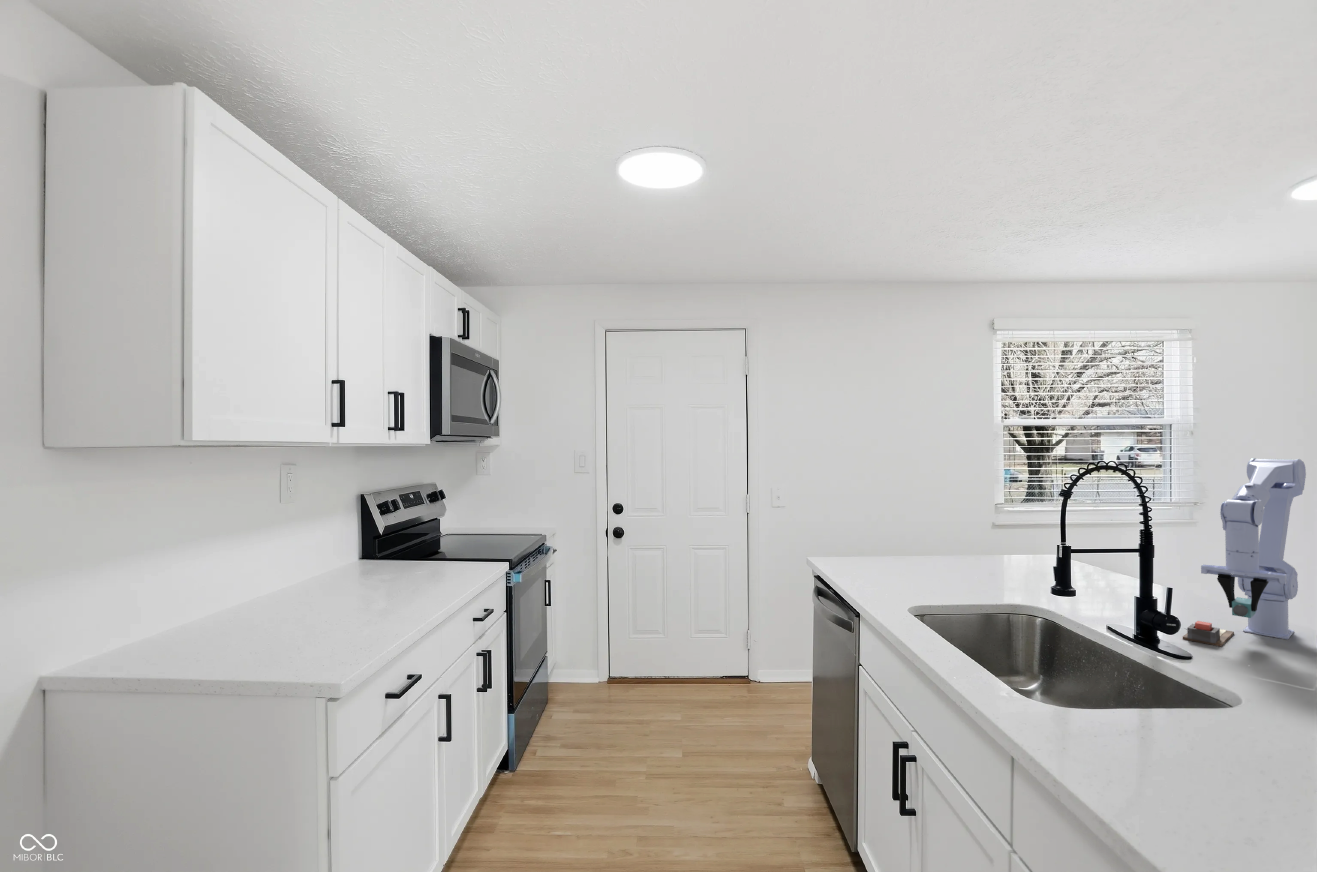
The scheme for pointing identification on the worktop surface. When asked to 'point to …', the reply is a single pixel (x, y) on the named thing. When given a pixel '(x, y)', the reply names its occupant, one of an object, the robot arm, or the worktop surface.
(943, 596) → the worktop surface
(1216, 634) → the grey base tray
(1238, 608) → the teal block
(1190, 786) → the worktop surface
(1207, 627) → the button
